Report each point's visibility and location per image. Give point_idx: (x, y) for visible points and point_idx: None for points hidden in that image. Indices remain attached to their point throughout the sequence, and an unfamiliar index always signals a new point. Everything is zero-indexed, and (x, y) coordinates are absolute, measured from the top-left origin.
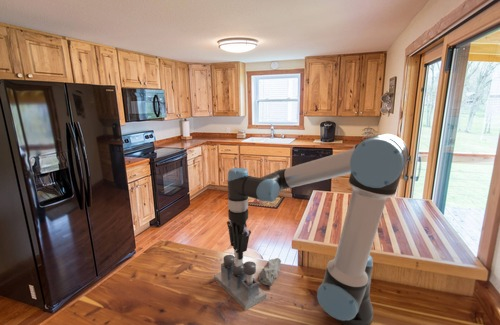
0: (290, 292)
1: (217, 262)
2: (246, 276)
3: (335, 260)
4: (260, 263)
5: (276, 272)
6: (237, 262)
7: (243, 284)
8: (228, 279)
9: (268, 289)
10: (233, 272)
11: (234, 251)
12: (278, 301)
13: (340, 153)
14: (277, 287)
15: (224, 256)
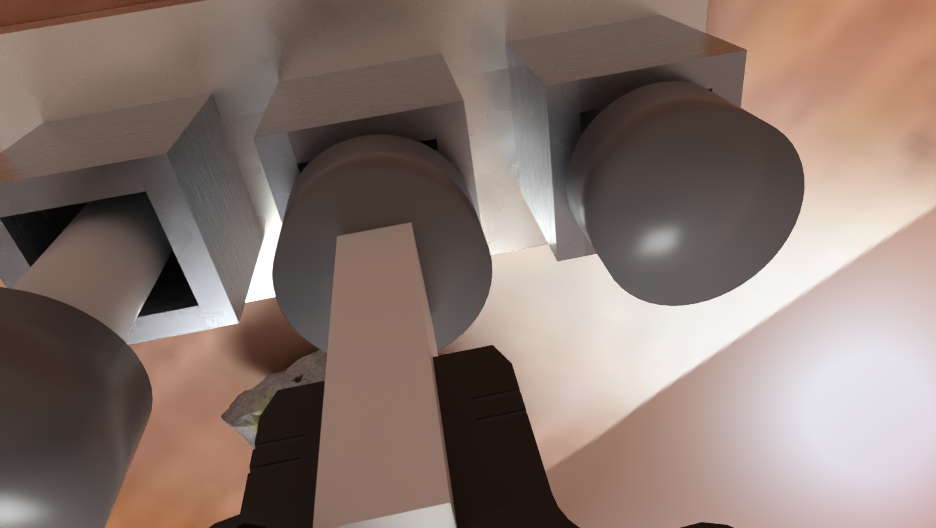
0: (142, 476)
1: (916, 89)
2: (68, 277)
3: None
4: (601, 427)
5: None
6: (335, 303)
7: (86, 164)
8: (509, 58)
9: (242, 357)
10: (384, 137)
11: (526, 438)
12: None
13: None
14: None
15: (797, 159)
